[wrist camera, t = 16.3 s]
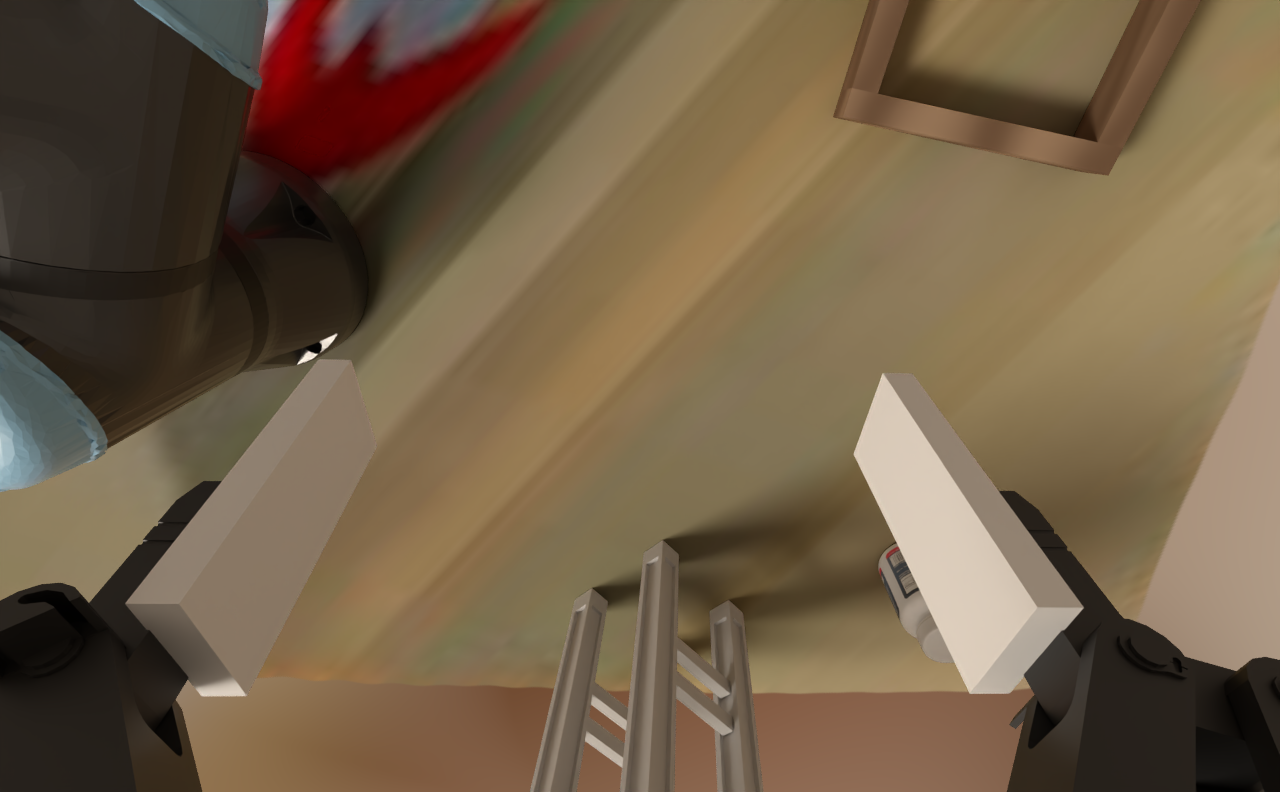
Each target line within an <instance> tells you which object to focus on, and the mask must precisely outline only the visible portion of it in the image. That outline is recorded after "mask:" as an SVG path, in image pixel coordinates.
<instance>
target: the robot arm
mask: <svg viewBox="0 0 1280 792" xmlns="http://www.w3.org/2000/svg"><path fill="white" fill-rule="evenodd" d="M267 15H268V0H0V492H2V491H7V490H10V489H23V488H27V487H30V486H33V485H36V484H38V483H41V482H43V481H45V480H47V479H49V478H52V477H54V476H56V475H58V474H61V473H63V472H65V471H67V470H69V469H72V468H74V467H76V466H78V465H81V464H83V463H87V462H91V461H94V460H96V459H98V458H99V457H101V456H102V455H103V454H105V453H106V452H105V450H107V449H108V448H110V447H111V446H113V445H115V444H117V443H118V442H120V441H122V440H124V439H125V438H127V437H129V436H131V435H132V434H134V433H136V432H138V431H139V430H141V429H143V428H145V427H146V426H148V425H150V424H152V423H153V422H155V421H157V420H159V419H160V418H162V417H164V416H166V415H167V414H169V413H171V412H173V411H175V410H176V409H178V408H180V407H182V406H183V405H185V404H187V403H189V402H190V401H192V400H194V399H196V398H197V397H199V396H201V395H203V394H204V393H206V392H208V391H210V390H211V389H213V388H215V387H217V386H218V385H220V384H222V383H224V382H225V381H227V380H229V379H230V378H232V377H234V376H236V375H238V374H239V373H241V372H249V371H257V370H265V369H272V368H280V367H288V366H295V365H299V364H303V363H306V362H309V361H312V360H314V359H316V358H318V357H320V356H322V355H324V354H325V353H327V352H328V351H330V350H332V349H333V348H335V347H336V346H338V345H339V344H341V343H342V342H343V341H344V340H346V339H347V338H348V337H349V336H350V335H351V333H352V332H353V331H354V329H355V328H356V327H357V325H358V323H359V321H360V319H361V317H362V315H363V312H364V309H365V305H366V300H367V293H368V276H367V268H366V263H365V259H364V255H363V252H362V249H361V246H360V243H359V241H358V238H357V236H356V234H355V232H354V230H353V228H352V226H351V225H350V223H349V221H348V220H347V218H346V216H345V215H344V213H343V212H342V211H341V209H340V208H339V207H338V205H337V204H336V203H335V202H334V201H333V199H332V198H331V197H330V196H329V195H328V194H327V193H326V192H325V191H324V190H323V189H322V188H321V187H320V186H319V185H317V184H316V183H315V182H314V181H313V180H311V179H310V178H309V177H307V176H306V175H305V174H303V173H302V172H300V171H299V170H297V169H296V168H294V167H292V166H290V165H288V164H286V163H284V162H282V161H280V160H278V159H275V158H273V157H270V156H267V155H264V154H260V153H256V152H250V151H242V145H243V141H244V136H245V131H246V127H247V122H248V118H249V113H250V109H251V104H252V100H253V95H254V91H255V89H256V90H260V89H261V85H262V79H261V77H260V75H259V73H258V69H259V63H260V57H261V51H262V45H263V39H264V33H265V27H266V21H267ZM376 447H377V444H376V440H375V437H374V434H373V431H372V427H371V424H370V421H369V417H368V414H367V411H366V407H365V404H364V401H363V397H362V394H361V391H360V388H359V384H358V381H357V378H356V374H355V371H354V368H353V364H352V361H351V360H326V359H319V360H318V361H317V362H316V363H315V365H314V366H313V367H312V368H311V370H310V371H309V372H308V373H307V375H306V376H305V377H304V378H303V380H302V381H301V382H300V384H299V385H298V386H297V387H296V389H295V390H294V391H293V392H292V394H291V395H290V396H289V397H288V399H287V400H286V401H285V402H284V404H283V405H282V406H281V407H280V409H279V410H278V411H277V413H276V414H275V415H274V416H273V418H272V419H271V420H270V421H269V423H268V424H267V425H266V426H265V428H264V429H263V430H262V431H261V433H260V434H259V435H258V437H257V438H256V439H255V440H254V442H253V443H252V444H251V445H250V447H249V448H248V449H247V450H246V452H245V453H244V454H243V455H242V457H241V458H240V459H239V460H238V462H237V463H236V464H235V466H234V467H233V468H232V469H231V471H230V472H229V473H228V474H227V476H226V477H225V478H224V479H223V481H203V482H202V483H200V484H199V485H197V486H196V487H195V488H193V489H192V490H190V491H189V492H187V493H186V494H185V495H183V496H182V497H180V498H179V499H178V500H176V502H175V503H174V504H173V505H172V506H171V507H170V509H169V510H168V511H167V512H166V513H165V514H164V516H163V517H162V518H161V519H160V520H159V522H158V526H154V527H153V529H152V530H151V531H150V532H149V533H148V534H147V536H146V537H145V538H144V539H143V544H142V545H138V546H137V547H136V549H135V550H134V551H133V552H132V553H131V554H130V556H129V557H128V558H127V559H126V560H125V561H124V563H123V564H122V565H121V566H120V567H119V569H118V570H117V571H116V572H115V573H114V574H113V576H112V577H111V578H110V579H109V580H108V581H107V583H106V584H105V585H104V586H103V587H102V589H101V590H100V591H99V592H98V593H97V594H96V596H95V597H94V598H93V599H92V600H91V601H90V603H88V602H87V600H86V599H85V598H84V597H83V596H82V595H81V594H80V593H79V592H78V590H77V589H76V588H75V587H73V586H70V585H66V584H63V583H52V584H41V585H38V586H35V587H31V588H28V589H25V590H22V591H19V592H17V593H15V594H13V595H11V596H9V597H7V598H5V599H3V600H1V601H0V792H202V789H201V784H200V781H199V776H198V772H197V768H196V764H195V760H194V756H193V752H192V748H191V744H190V741H189V736H188V732H187V728H186V724H185V720H184V716H183V712H182V709H181V707H180V706H179V704H178V703H177V701H176V700H175V699H176V698H177V696H178V694H179V693H180V691H181V689H182V687H183V686H184V685H185V683H186V681H187V680H189V681H190V683H191V684H192V685H193V686H194V687H195V689H196V690H197V691H198V692H199V693H200V695H201V696H247V695H248V693H249V691H250V689H251V687H252V685H253V683H254V681H255V679H256V678H257V676H258V674H259V672H260V670H261V668H262V666H263V664H264V662H265V660H266V658H267V656H268V655H269V653H270V651H271V649H272V647H273V645H274V643H275V641H276V639H277V637H278V635H279V633H280V631H281V630H282V628H283V626H284V624H285V622H286V620H287V618H288V616H289V614H290V612H291V610H292V608H293V607H294V605H295V603H296V601H297V599H298V597H299V595H300V593H301V591H302V589H303V587H304V585H305V584H306V582H307V580H308V578H309V576H310V574H311V572H312V570H313V568H314V566H315V564H316V562H317V561H318V559H319V557H320V555H321V553H322V551H323V549H324V547H325V545H326V543H327V541H328V539H329V538H330V536H331V534H332V532H333V530H334V528H335V526H336V524H337V522H338V520H339V518H340V516H341V515H342V513H343V511H344V509H345V507H346V505H347V503H348V501H349V499H350V497H351V495H352V493H353V491H354V490H355V488H356V486H357V484H358V482H359V480H360V478H361V476H362V474H363V472H364V470H365V468H366V467H367V465H368V463H369V461H370V459H371V457H372V455H373V453H374V451H375V449H376ZM854 456H855V458H856V460H857V462H858V464H859V466H860V468H861V470H862V472H863V474H864V476H865V479H866V481H867V483H868V485H869V487H870V489H871V491H872V493H873V495H874V497H875V499H876V501H877V503H878V505H879V507H880V509H881V511H882V514H883V516H884V518H885V520H886V522H887V524H888V526H889V528H890V530H891V532H892V534H893V536H894V538H895V540H896V542H897V544H898V547H899V549H900V551H901V553H902V555H903V557H904V559H905V561H906V563H907V565H908V567H909V569H910V571H911V573H912V575H913V577H914V579H915V582H916V584H917V586H918V588H919V590H920V592H921V594H922V596H923V598H924V600H925V602H926V604H927V606H928V608H929V610H930V612H931V615H932V617H933V619H934V621H935V623H936V625H937V627H938V629H939V631H940V633H941V635H942V637H943V639H944V641H945V643H946V645H947V647H948V650H949V652H950V654H951V656H952V658H953V660H954V662H955V664H956V666H957V668H958V670H959V672H960V674H961V676H962V678H963V680H964V682H965V685H966V687H967V689H968V691H969V693H970V694H991V693H994V694H995V693H996V694H999V693H1001V694H1003V693H1004V694H1005V693H1006V694H1007V693H1010V692H1011V691H1012V690H1013V689H1014V688H1015V687H1016V685H1017V684H1018V683H1019V682H1020V681H1021V680H1022V678H1023V677H1025V678H1026V680H1027V682H1028V684H1029V685H1030V687H1031V689H1032V690H1033V692H1034V694H1035V695H1034V696H1033V697H1032V698H1031V699H1030V700H1029V702H1028V703H1027V704H1026V705H1025V706H1024V707H1023V708H1022V709H1021V710H1020V711H1019V712H1018V713H1017V715H1016V716H1015V717H1014V718H1013V720H1012V721H1011V723H1010V725H1011V726H1012V727H1014V728H1015V729H1016V728H1017V727H1018V726H1019V725H1020V724H1021V723H1022V722H1023V721H1024V722H1023V726H1022V730H1021V734H1020V739H1019V743H1018V747H1017V752H1016V756H1015V760H1014V764H1013V769H1012V773H1011V777H1010V781H1009V785H1008V790H1007V792H1280V660H1277V659H1272V658H1268V657H1262V658H1255V659H1252V660H1251V661H1249V662H1248V663H1247V664H1245V665H1244V666H1243V667H1241V668H1240V669H1239V670H1238V671H1234V670H1230V669H1227V668H1223V667H1220V666H1216V665H1212V664H1209V663H1205V662H1202V661H1198V660H1194V659H1191V658H1187V657H1185V656H1184V655H1183V654H1182V652H1181V651H1180V650H1179V649H1178V648H1177V647H1176V646H1174V645H1173V644H1172V643H1171V642H1170V641H1169V640H1168V639H1167V638H1165V637H1164V636H1163V635H1161V634H1159V633H1158V632H1156V631H1154V630H1153V629H1151V628H1149V627H1148V626H1146V625H1143V624H1140V623H1138V622H1135V621H1133V620H1130V619H1124V618H1123V617H1122V616H1121V615H1120V614H1119V613H1118V611H1117V610H1116V609H1115V608H1114V606H1113V605H1112V604H1111V602H1110V601H1109V600H1108V599H1107V597H1106V596H1105V595H1104V593H1103V592H1102V591H1101V590H1100V588H1099V587H1098V586H1097V585H1096V583H1095V582H1094V581H1093V579H1092V578H1091V577H1090V576H1089V574H1088V573H1087V572H1086V570H1085V569H1084V568H1083V567H1082V565H1081V564H1080V563H1079V561H1078V560H1077V559H1076V558H1075V556H1074V555H1073V554H1072V552H1068V551H1067V546H1066V545H1065V544H1064V542H1063V541H1062V540H1061V538H1060V537H1059V536H1058V535H1057V534H1054V529H1053V528H1052V527H1051V526H1050V524H1049V523H1048V522H1047V520H1046V519H1045V518H1044V517H1043V515H1042V514H1041V513H1040V511H1039V510H1038V509H1037V508H1035V507H1034V506H1033V505H1032V504H1030V503H1029V502H1028V501H1026V500H1025V499H1024V498H1023V497H1021V496H1020V495H1019V494H1017V493H1016V492H1015V491H998V490H997V488H996V487H995V486H994V484H993V483H992V481H991V480H990V479H989V477H988V476H987V475H986V473H985V472H984V471H983V469H982V468H981V466H980V465H979V464H978V462H977V461H976V460H975V458H974V457H973V456H972V454H971V453H970V451H969V450H968V449H967V447H966V446H965V445H964V443H963V442H962V440H961V439H960V438H959V436H958V435H957V434H956V432H955V431H954V430H953V428H952V427H951V425H950V424H949V423H948V421H947V420H946V419H945V417H944V416H943V415H942V413H941V412H940V410H939V409H938V408H937V406H936V405H935V404H934V402H933V401H932V400H931V398H930V397H929V395H928V394H927V393H926V391H925V390H924V389H923V387H922V386H921V384H920V383H919V382H918V380H917V379H916V378H915V376H914V375H913V374H906V373H883V374H882V377H881V380H880V383H879V385H878V388H877V391H876V394H875V396H874V399H873V402H872V405H871V408H870V410H869V413H868V416H867V419H866V421H865V424H864V427H863V430H862V433H861V435H860V438H859V441H858V444H857V446H856V449H855V452H854Z"/></svg>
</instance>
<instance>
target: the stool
mask: <svg viewBox="0 0 1280 792" xmlns="http://www.w3.org/2000/svg"><path fill="white" fill-rule="evenodd" d="M678 579H679V554H678V553H677V552H675V551H674V550H673V549H672V548H671V547H670V546H669V545H668V544H667V543H666V542H665V541H664V540H662V541H660V542H659V543H657V544H656V545H655V546H653V547H652V548H650V549H649V550H647V551H646V552H644V556H643V566H642V576H641V586H640V596H639V606H638V616H637V626H636V636H635V646H634V656H633V666H632V676H631V686H630V696H629V706H628V708H627V707H626V706H625V705H623V704H622V703H621V702H620V701H618V700H617V699H616V698H614V697H613V696H612V695H611V694H609V693H608V692H607V691H605V690H604V689H603V688H602V687H600V686H599V685H598V684H596V683H595V677H596V671H597V665H598V659H599V653H600V647H601V641H602V635H603V628H604V622H605V616H606V610H607V604H608V601H607V600H606V599H604V598H603V597H602V596H601V595H600V594H598V593H597V592H596V591H595V590H594V589H593V588H591V589H590V590H588V591H587V592H585V593H584V594H582V595H581V596H579V597H578V598H576V599H575V602H574V606H573V611H572V615H571V619H570V623H569V628H568V632H567V636H566V640H565V645H564V649H563V653H562V658H561V662H560V666H559V670H558V675H557V679H556V683H555V687H554V692H553V696H552V700H551V704H550V709H549V713H548V717H547V721H546V726H545V730H544V734H543V739H542V743H541V747H540V751H539V756H538V760H537V764H536V768H535V773H534V777H533V781H532V785H531V790H530V792H577V785H578V779H579V774H580V768H581V761H582V755H583V749H584V743H585V741H586V742H588V743H589V744H590V745H592V746H593V747H594V748H596V749H597V750H599V751H600V752H601V753H602V754H604V755H605V756H607V757H608V758H609V759H611V760H612V761H613V762H615V763H616V764H618V765H619V766H620V767H622V775H621V786H620V792H674V788H675V786H674V785H675V737H676V734H675V733H676V732H675V731H676V698H677V699H678V700H679V701H680V702H682V703H683V704H684V705H685V706H687V707H688V708H689V709H690V710H692V711H693V712H694V713H695V714H696V715H698V716H699V717H700V718H701V719H703V720H704V721H705V722H707V723H708V724H709V725H710V726H711V727H712V728H714V729H715V743H716V766H717V788H718V792H763V784H762V774H761V766H760V758H759V749H758V739H757V731H756V722H755V713H754V704H753V696H752V687H751V678H750V669H749V660H748V651H747V643H746V634H745V625H744V616H743V613H742V612H741V611H740V610H739V609H738V608H737V607H736V606H735V605H734V604H733V603H731V602H730V601H729V600H727V601H726V602H724V603H722V604H721V605H719V606H717V607H715V608H714V609H712V610H710V611H709V612H710V634H711V656H712V666H711V665H710V664H709V663H708V662H706V661H705V660H704V659H703V658H702V657H700V656H699V655H698V654H697V653H696V652H695V651H693V650H692V649H691V648H690V647H689V646H688V645H686V644H685V643H684V642H683V641H682V640H681V639H679V638H678V637H677V632H678ZM677 662H678V663H679V664H680V665H681V666H682V667H683V668H685V669H686V670H687V671H688V672H689V673H691V674H692V675H693V676H694V677H695V678H697V679H698V680H699V681H700V682H701V683H703V684H704V685H705V686H706V687H707V688H709V689H710V690H711V691H712V692H713V699H714V701H712V700H711V699H710V698H709V697H708V696H706V695H705V694H704V693H703V692H702V691H700V690H699V689H698V688H697V687H696V686H694V685H693V684H692V683H691V682H689V681H688V680H687V679H686V678H685V677H683V676H682V675H681V674H680V673H679V672H677ZM591 705H593V706H594V707H595V708H597V709H598V710H599V711H601V712H602V713H603V714H605V715H606V716H607V717H609V718H610V719H611V720H612V721H614V722H615V723H616V724H618V725H619V726H620V727H622V728H623V729H624V730H626V736H625V743H623V742H622V741H621V740H619V739H618V738H617V737H615V736H614V735H612V734H611V733H610V732H609V731H607V730H606V729H605V728H603V727H602V726H600V725H599V724H598V723H596V722H595V721H594V720H592V719H591V718H590V717H589V713H590V707H591Z"/></svg>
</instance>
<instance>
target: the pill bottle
mask: <svg viewBox="0 0 1280 792" xmlns="http://www.w3.org/2000/svg"><path fill="white" fill-rule="evenodd" d="M878 569H879V573H880V576H881V579H882V581H883V583H884V586H885V588H886V590H887V592H888V595H889V597H890V599H891V602H892V604H893V606H894V608H895V611H896V613H897V615H898V618H899V620H900V622H901V624H902V626H903V627H904V629H905V630H906V631H907V632H908V633H909V634H910V635H912V636H913V637H915V638H917V639H918V642H919V644H920V646H921V648H922V650H923V652H924V653H925V655H926V656H927V657H929V658H930V659H932V660H934V661H937V662H941V663H953V662H954V660H953V658H952V656H951V654H950V652H949V650H948V647H947V645H946V643H945V641H944V639H943V637H942V635H941V633H940V631H939V629H938V627H937V625H936V623H935V621H934V619H933V617H932V615H931V612H930V610H929V608H928V606H927V604H926V602H925V600H924V598H923V596H922V594H921V592H920V590H919V588H918V586H917V584H916V582H915V579H914V577H913V575H912V573H911V571H910V569H909V567H908V565H907V563H906V561H905V559H904V557H903V555H902V553H901V551H900V549H899V547H898V544H897V543H896V544H894V545H892V546H890V547H889V548H888V549H887V550H886V551H885V552H884V553H883V554H882V556H881V558H880V560H879V564H878Z"/></svg>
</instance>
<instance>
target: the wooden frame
mask: <svg viewBox="0 0 1280 792" xmlns="http://www.w3.org/2000/svg"><path fill="white" fill-rule="evenodd" d="M1200 1H1201V0H1140V1H1139V3H1138V6H1137V8H1136V10H1135V12H1134V14H1133V16H1132V18H1131V20H1130V22H1129V24H1128V26H1127V28H1126V30H1125V32H1124V34H1123V36H1122V38H1121V40H1120V42H1119V44H1118V46H1117V49H1116V51H1115V53H1114V55H1113V57H1112V59H1111V61H1110V63H1109V65H1108V67H1107V69H1106V71H1105V73H1104V75H1103V77H1102V79H1101V81H1100V83H1099V85H1098V87H1097V89H1096V91H1095V94H1094V96H1093V98H1092V100H1091V102H1090V104H1089V106H1088V108H1087V110H1086V112H1085V114H1084V116H1083V118H1082V120H1081V122H1080V124H1079V126H1078V128H1077V130H1076V132H1075V134H1074V136H1073V137H1071V136H1066V135H1062V134H1057V133H1053V132H1048V131H1044V130H1039V129H1035V128H1030V127H1026V126H1021V125H1017V124H1012V123H1008V122H1003V121H999V120H994V119H990V118H985V117H981V116H976V115H972V114H967V113H963V112H958V111H954V110H949V109H944V108H940V107H935V106H931V105H926V104H922V103H917V102H913V101H908V100H904V99H899V98H895V97H890V96H886V95H881V94H878V92H879V89H880V86H881V83H882V80H883V77H884V74H885V71H886V68H887V65H888V62H889V59H890V56H891V53H892V50H893V47H894V44H895V41H896V38H897V35H898V32H899V30H900V27H901V24H902V21H903V18H904V15H905V12H906V9H907V6H908V3H909V0H870V1H869V4H868V7H867V10H866V13H865V17H864V20H863V23H862V26H861V29H860V33H859V36H858V39H857V42H856V45H855V49H854V52H853V55H852V58H851V61H850V65H849V68H848V71H847V74H846V77H845V81H844V84H843V87H842V90H841V94H840V97H839V100H838V103H837V106H836V110H835V113H834V116H833V117H835V118H839V119H844V120H848V121H853V122H857V123H862V124H866V125H871V126H875V127H880V128H885V129H889V130H894V131H898V132H903V133H907V134H912V135H916V136H921V137H925V138H930V139H935V140H939V141H944V142H948V143H953V144H957V145H962V146H966V147H971V148H975V149H980V150H984V151H989V152H994V153H998V154H1003V155H1007V156H1012V157H1016V158H1021V159H1025V160H1030V161H1034V162H1039V163H1043V164H1048V165H1053V166H1057V167H1062V168H1066V169H1071V170H1075V171H1080V172H1086V173H1094V174H1102V175H1109V173H1110V171H1111V169H1112V168H1113V166H1114V164H1115V162H1116V160H1117V158H1118V156H1119V154H1120V152H1121V151H1122V149H1123V147H1124V145H1125V143H1126V141H1127V139H1128V137H1129V135H1130V133H1131V132H1132V130H1133V128H1134V126H1135V124H1136V122H1137V120H1138V118H1139V116H1140V115H1141V113H1142V111H1143V109H1144V107H1145V105H1146V103H1147V101H1148V99H1149V98H1150V96H1151V94H1152V92H1153V90H1154V88H1155V86H1156V84H1157V82H1158V80H1159V79H1160V77H1161V75H1162V73H1163V71H1164V69H1165V67H1166V65H1167V63H1168V62H1169V60H1170V58H1171V56H1172V54H1173V52H1174V50H1175V48H1176V46H1177V45H1178V43H1179V41H1180V39H1181V37H1182V35H1183V33H1184V31H1185V29H1186V27H1187V26H1188V24H1189V22H1190V20H1191V18H1192V16H1193V14H1194V12H1195V10H1196V9H1197V7H1198V5H1199V3H1200Z"/></svg>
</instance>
